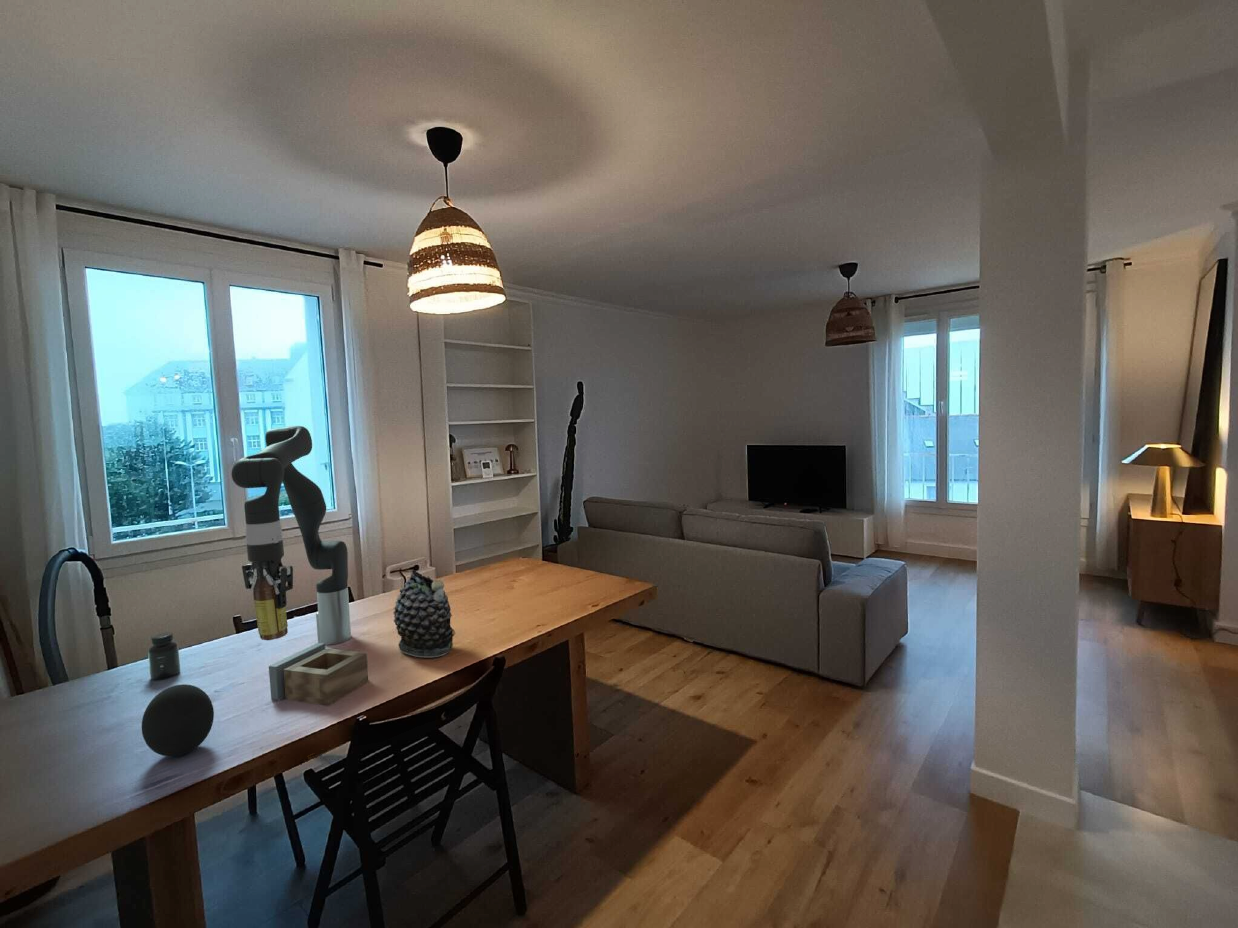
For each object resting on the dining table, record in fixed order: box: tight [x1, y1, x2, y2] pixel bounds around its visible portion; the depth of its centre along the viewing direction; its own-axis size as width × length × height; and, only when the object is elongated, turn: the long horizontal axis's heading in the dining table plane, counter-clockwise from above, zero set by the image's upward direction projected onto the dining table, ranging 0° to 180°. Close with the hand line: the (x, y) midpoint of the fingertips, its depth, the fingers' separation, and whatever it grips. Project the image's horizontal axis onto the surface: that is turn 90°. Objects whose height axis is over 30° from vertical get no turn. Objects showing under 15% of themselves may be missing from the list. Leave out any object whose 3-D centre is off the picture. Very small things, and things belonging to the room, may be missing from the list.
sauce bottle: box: [253, 562, 289, 641], centre depth 138 cm, size 6×6×20 cm
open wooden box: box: [284, 648, 369, 706], centre depth 151 cm, size 14×14×8 cm
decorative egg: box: [141, 683, 215, 758], centre depth 123 cm, size 12×12×15 cm
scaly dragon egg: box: [393, 569, 456, 659], centre depth 175 cm, size 21×15×25 cm
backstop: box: [268, 642, 326, 701], centre depth 154 cm, size 2×16×9 cm, turn 162°
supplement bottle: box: [147, 632, 181, 681], centre depth 163 cm, size 7×7×12 cm
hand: (270, 606), depth 139 cm, fingers closed on sauce bottle, 6 cm apart
